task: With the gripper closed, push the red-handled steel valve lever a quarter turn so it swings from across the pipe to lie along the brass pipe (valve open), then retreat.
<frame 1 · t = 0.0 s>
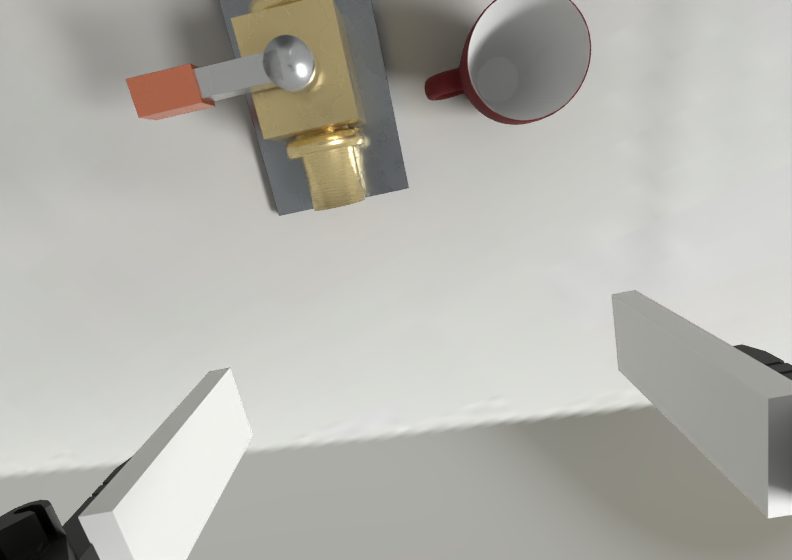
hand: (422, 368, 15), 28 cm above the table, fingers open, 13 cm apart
lever: (227, 80, 31), point 9 cm above the table, hinge at 0.0°
mug: (483, 86, 39), on the table
valve block: (317, 86, 39), on the table
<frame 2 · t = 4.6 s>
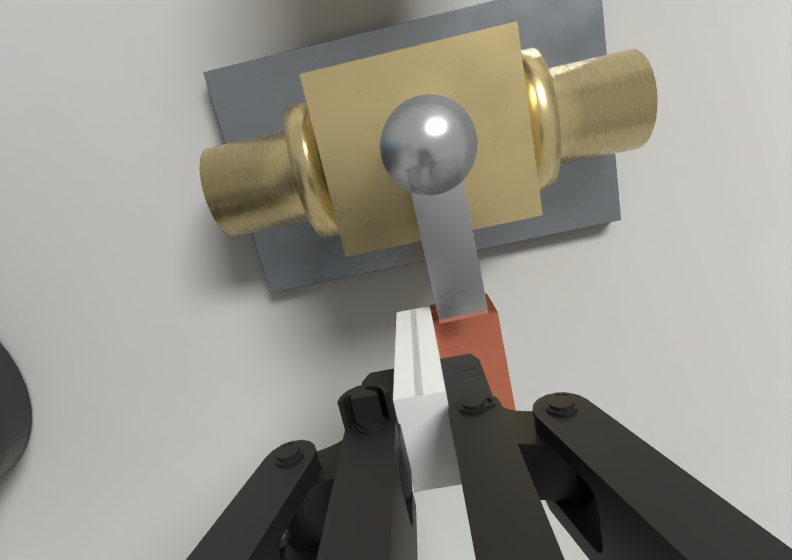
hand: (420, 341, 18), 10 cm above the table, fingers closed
lever: (451, 266, 17), point 9 cm above the table, hinge at 0.8°, touching gripper
valve block: (418, 148, 25), on the table
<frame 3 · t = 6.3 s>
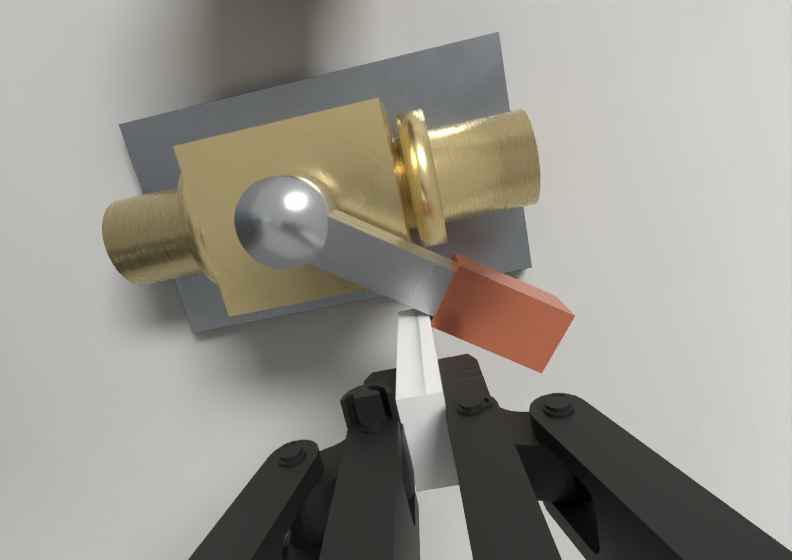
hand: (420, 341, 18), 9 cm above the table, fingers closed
lever: (401, 268, 17), point 9 cm above the table, hinge at 54.4°, touching gripper
valve block: (333, 196, 25), on the table
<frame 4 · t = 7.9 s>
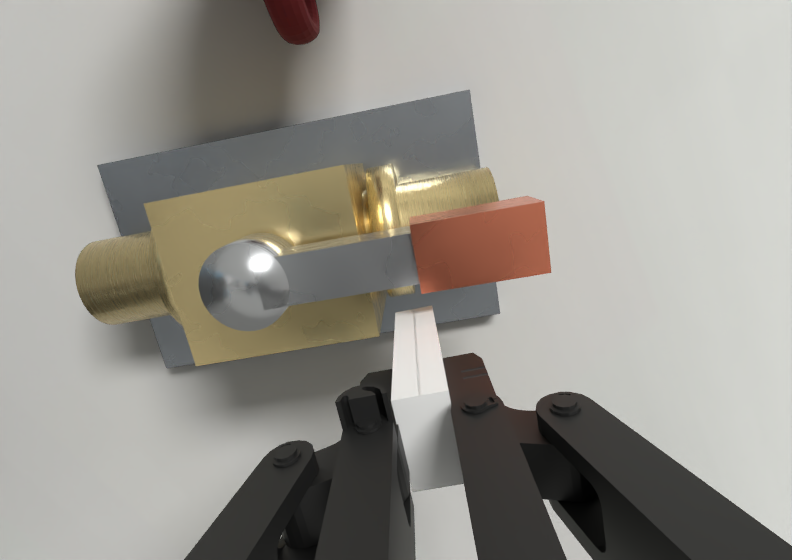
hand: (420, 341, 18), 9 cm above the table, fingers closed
lever: (370, 260, 17), point 9 cm above the table, hinge at 89.7°
valve block: (308, 238, 26), on the table
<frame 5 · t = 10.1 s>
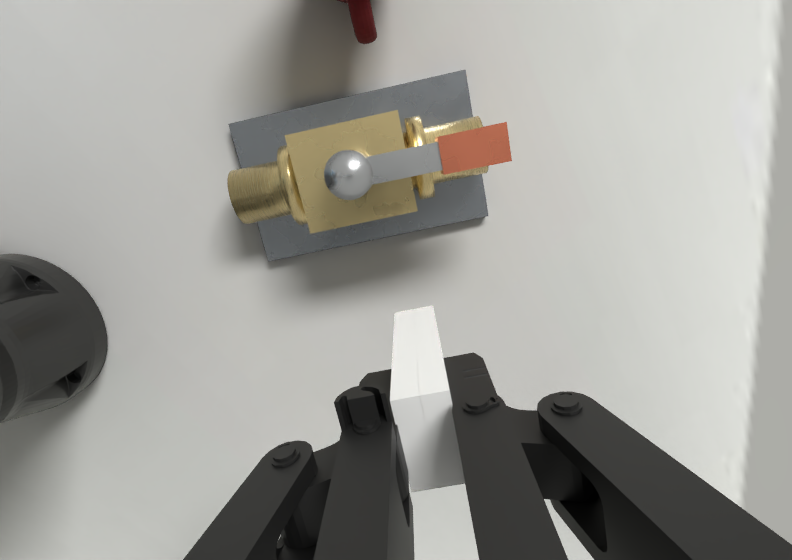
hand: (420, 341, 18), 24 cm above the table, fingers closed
lever: (414, 161, 30), point 9 cm above the table, hinge at 89.6°
valve block: (362, 170, 40), on the table
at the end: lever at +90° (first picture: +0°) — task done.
